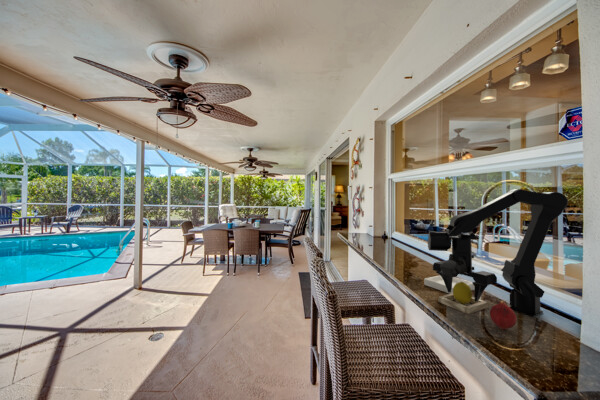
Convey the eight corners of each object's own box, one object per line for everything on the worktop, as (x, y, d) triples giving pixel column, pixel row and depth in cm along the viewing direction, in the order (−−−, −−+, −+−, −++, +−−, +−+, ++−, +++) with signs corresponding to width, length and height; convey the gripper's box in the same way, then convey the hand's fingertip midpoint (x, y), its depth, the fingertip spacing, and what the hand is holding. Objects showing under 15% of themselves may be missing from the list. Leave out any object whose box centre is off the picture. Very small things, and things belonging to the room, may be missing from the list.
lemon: (476, 308, 82) (475, 284, 82) (459, 308, 83) (459, 284, 82) (465, 301, 88) (464, 279, 88) (449, 301, 88) (449, 279, 88)
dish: (475, 289, 99) (475, 283, 99) (454, 295, 93) (454, 288, 93) (444, 280, 111) (444, 274, 111) (424, 284, 105) (424, 278, 105)
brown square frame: (487, 307, 83) (487, 302, 83) (468, 314, 78) (468, 308, 78) (457, 296, 92) (457, 291, 92) (438, 301, 88) (438, 296, 88)
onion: (518, 337, 65) (518, 307, 65) (491, 331, 68) (490, 302, 68) (514, 327, 70) (513, 299, 70) (488, 322, 73) (488, 295, 73)
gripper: (422, 249, 90) (422, 291, 90) (475, 260, 73) (476, 312, 73) (442, 246, 95) (443, 286, 95) (497, 256, 78) (498, 305, 78)
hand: (462, 296), depth 85 cm, fingers open, 9 cm apart
